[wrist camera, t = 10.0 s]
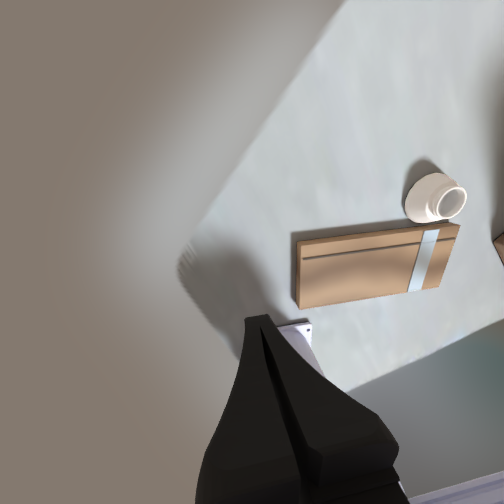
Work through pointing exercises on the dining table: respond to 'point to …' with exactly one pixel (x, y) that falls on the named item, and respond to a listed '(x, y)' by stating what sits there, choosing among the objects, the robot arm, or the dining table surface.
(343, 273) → the board
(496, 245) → the wooden block
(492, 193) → the dining table surface
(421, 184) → the lidless jar
